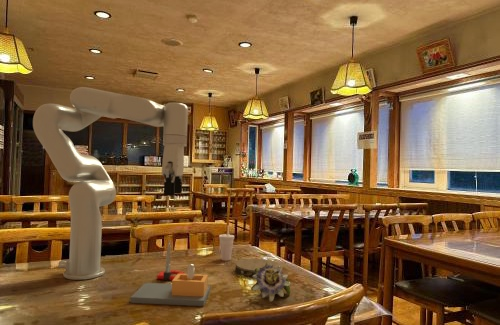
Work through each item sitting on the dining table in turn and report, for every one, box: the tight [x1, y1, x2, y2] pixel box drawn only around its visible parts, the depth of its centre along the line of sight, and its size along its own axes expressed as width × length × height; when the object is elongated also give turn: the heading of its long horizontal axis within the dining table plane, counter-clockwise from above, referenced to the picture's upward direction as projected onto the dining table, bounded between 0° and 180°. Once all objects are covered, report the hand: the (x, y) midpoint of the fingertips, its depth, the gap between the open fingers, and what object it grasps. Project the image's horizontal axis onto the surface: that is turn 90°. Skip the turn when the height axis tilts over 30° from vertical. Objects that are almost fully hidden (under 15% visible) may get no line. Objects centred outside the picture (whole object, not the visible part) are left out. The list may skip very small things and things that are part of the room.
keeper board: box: [130, 282, 211, 307], centre depth 100 cm, size 20×12×2 cm, turn 88°
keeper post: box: [186, 263, 195, 280], centre depth 100 cm, size 2×2×8 cm
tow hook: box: [156, 239, 186, 282], centre depth 119 cm, size 8×13×9 cm
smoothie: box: [218, 224, 235, 262], centre depth 143 cm, size 6×6×14 cm
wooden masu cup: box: [171, 273, 209, 297], centre depth 100 cm, size 9×7×4 cm
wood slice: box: [235, 258, 280, 279], centre depth 127 cm, size 16×16×3 cm
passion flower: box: [250, 261, 292, 303], centre depth 103 cm, size 11×11×12 cm
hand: (173, 194), depth 113 cm, fingers open, 9 cm apart
